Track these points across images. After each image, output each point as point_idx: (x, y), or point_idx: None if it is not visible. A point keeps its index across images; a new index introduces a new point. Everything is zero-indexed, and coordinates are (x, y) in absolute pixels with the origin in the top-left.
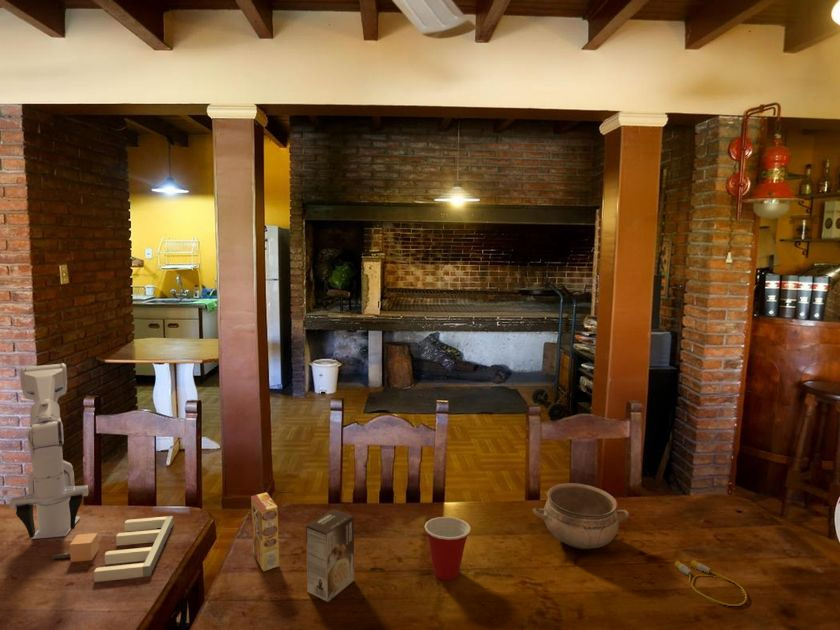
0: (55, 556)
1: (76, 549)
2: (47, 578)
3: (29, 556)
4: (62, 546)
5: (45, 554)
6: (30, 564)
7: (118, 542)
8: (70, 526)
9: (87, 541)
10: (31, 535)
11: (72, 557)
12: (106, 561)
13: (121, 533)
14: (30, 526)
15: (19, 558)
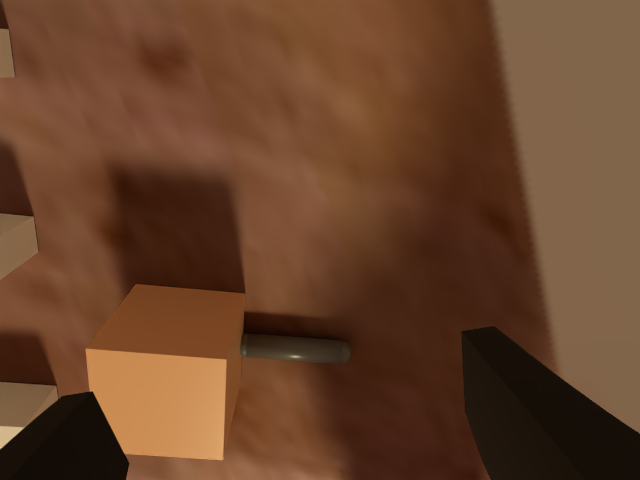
0: (334, 346)
1: (195, 332)
2: (321, 163)
3: None
4: (336, 439)
5: (398, 393)
6: (447, 325)
7: (36, 397)
8: (67, 418)
9: (118, 369)
10: (490, 338)
11: (230, 306)
12: (13, 223)
13: None
14: (560, 430)
15: None
